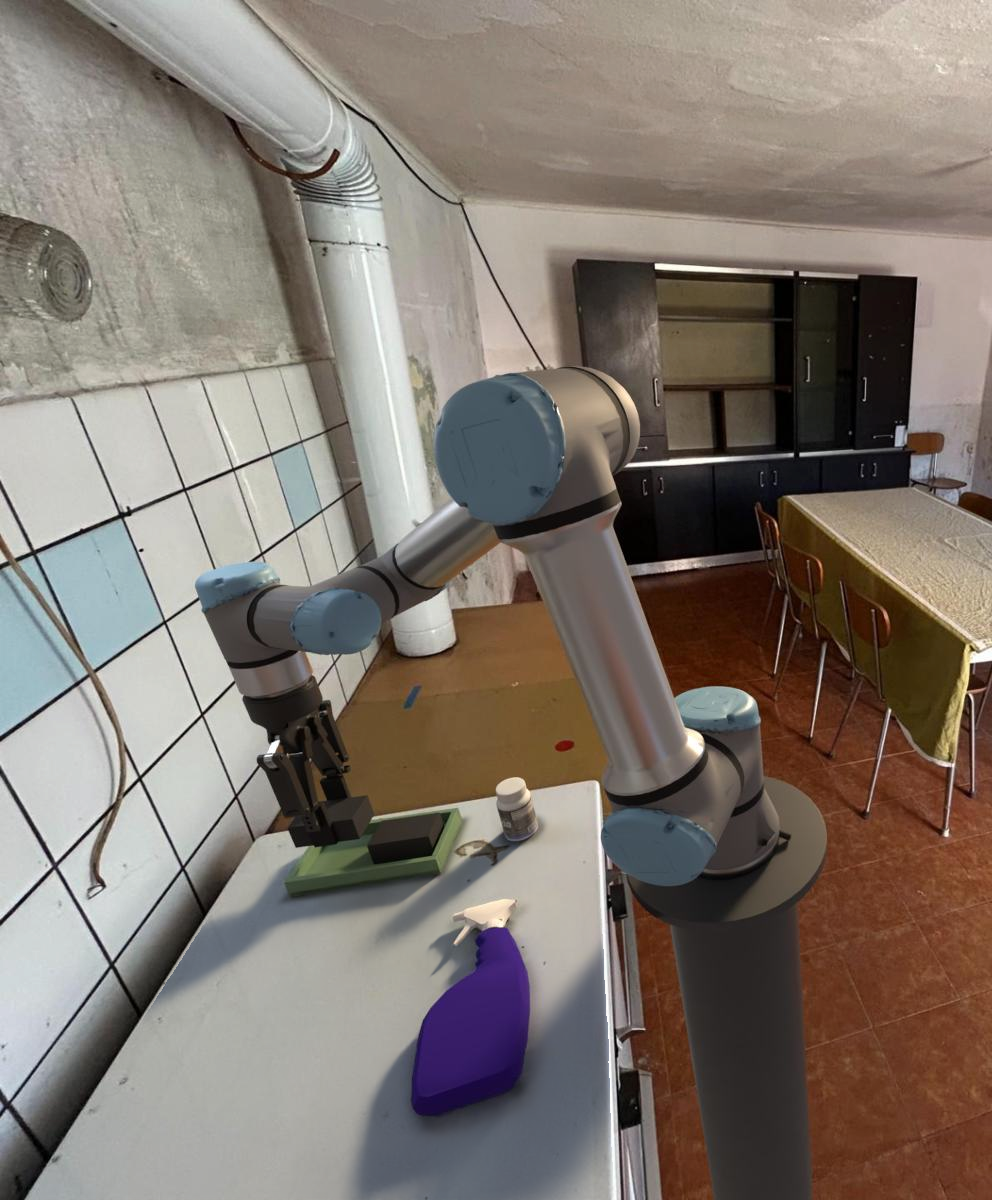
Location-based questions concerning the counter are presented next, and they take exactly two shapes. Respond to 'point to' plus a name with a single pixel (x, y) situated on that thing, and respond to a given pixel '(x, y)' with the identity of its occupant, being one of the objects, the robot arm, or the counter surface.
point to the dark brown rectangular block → (338, 820)
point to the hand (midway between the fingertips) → (336, 828)
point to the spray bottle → (475, 1022)
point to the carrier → (366, 861)
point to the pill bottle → (516, 809)
